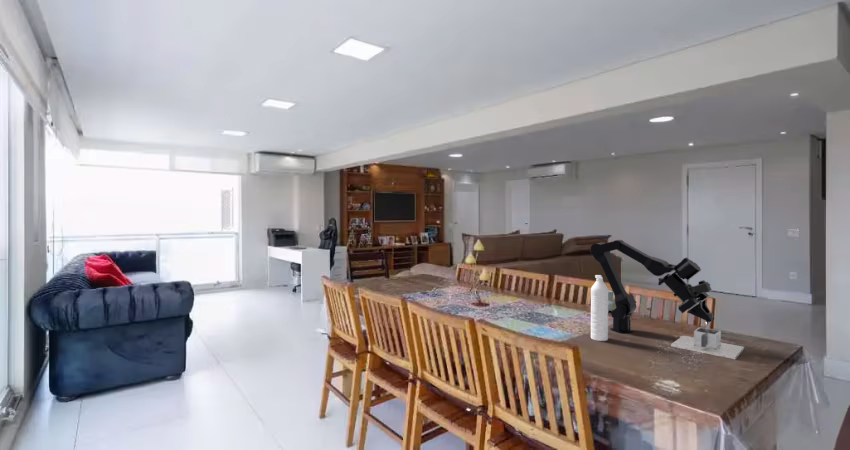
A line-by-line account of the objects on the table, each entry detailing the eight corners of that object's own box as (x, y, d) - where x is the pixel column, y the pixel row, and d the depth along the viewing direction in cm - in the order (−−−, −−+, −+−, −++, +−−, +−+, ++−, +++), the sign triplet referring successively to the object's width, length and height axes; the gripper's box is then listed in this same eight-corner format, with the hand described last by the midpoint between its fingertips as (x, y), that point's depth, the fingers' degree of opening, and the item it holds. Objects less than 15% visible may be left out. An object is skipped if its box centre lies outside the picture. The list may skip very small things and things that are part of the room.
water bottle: (609, 341, 168) (609, 278, 167) (591, 340, 170) (591, 278, 169) (606, 335, 176) (606, 275, 175) (589, 334, 178) (589, 274, 177)
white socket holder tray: (671, 346, 162) (671, 329, 162) (683, 337, 172) (683, 322, 172) (735, 359, 148) (735, 341, 147) (744, 348, 158) (744, 332, 158)
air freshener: (604, 307, 225) (604, 288, 224) (619, 309, 219) (619, 290, 218) (593, 310, 218) (593, 291, 217) (609, 313, 212) (609, 293, 211)
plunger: (696, 341, 160) (697, 312, 159) (700, 337, 164) (701, 310, 163) (713, 344, 156) (714, 315, 156) (717, 340, 160) (718, 312, 159)
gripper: (688, 277, 155) (724, 312, 148) (702, 271, 168) (736, 303, 161) (664, 295, 161) (698, 330, 154) (680, 288, 174) (711, 320, 167)
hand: (711, 320), depth 158 cm, fingers closed on plunger, 3 cm apart
